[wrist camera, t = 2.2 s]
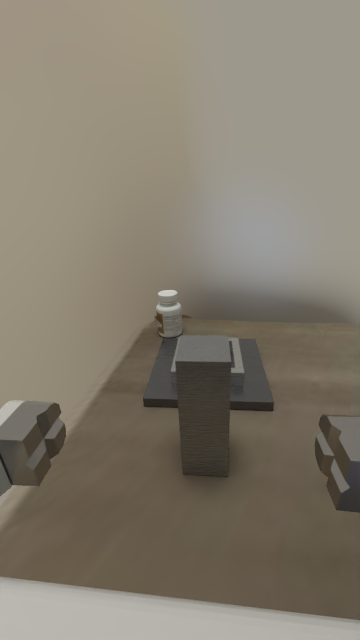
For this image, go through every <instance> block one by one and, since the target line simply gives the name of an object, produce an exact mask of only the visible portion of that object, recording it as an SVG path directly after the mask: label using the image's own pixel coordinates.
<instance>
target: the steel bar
mask: <svg viewBox="0 0 360 640" xmlns="http://www.w3.org/2000/svg"><path fill="white" fill-rule="evenodd" d="M175 366H176V381H177V396H178V411H179V425H180V440H181V455H182V469H183V474H187V475H203V476H218V477H228V454H229V421H230V388H231V355H230V346H229V338H228V336H183V335H181V337H180V341H179V346H178V350H177V355H176V360H175Z"/></svg>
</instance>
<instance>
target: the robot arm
mask: <svg viewBox="0 0 360 640" xmlns="http://www.w3.org/2000/svg"><path fill="white" fill-rule="evenodd" d="M60 414H61V410H60V407H59V404H56V403H51V402H50V403H49V402H37V401H18V400H12V401H10V402H7V403H6V404H5V405H4V406H3V407H2V408H1V409H0V496H1V495H2V494H3V493H5V492H6V491H7V490H8V489H10V488H11V487H12V485H23V486H39V485H40V484H41V482H42V480H43V479H44V477H45V475H46V474H47V472H48V470H49V469H50V467H51V462H50V459H52V458H53V457H54V456H56V455H57V454H59V452H60V450H61V448H62V447H63V444H64V441H65V437H66V428H65V424H64V422H63V421H61V420H60V419H59V418H58V417H59V415H60ZM319 426H320V429H321V431H322V432H321V433H320V434H319V435H317V436H316V441H315V455H316V459H317V463H318V466H319V468H320V471H321V472H322V473H323V474H325V475H326V476H327V477H328V481H327V485H326V486H327V489H328V491H329V494H330V496H331V499H332V501H333V503H334V506H335V508H336V510H339V511H349V512H358V513H360V416H350V415H322V416H321V418H320V422H319ZM0 640H360V620H353V619H345V618H337V617H329V616H321V615H312V614H304V613H296V612H288V611H280V610H271V609H263V608H255V607H247V606H239V605H230V604H222V603H214V602H206V601H197V600H189V599H181V598H173V597H165V596H156V595H148V594H140V593H132V592H124V591H115V590H107V589H99V588H91V587H82V586H74V585H66V584H58V583H49V582H41V581H33V580H25V579H16V578H8V577H0Z"/></svg>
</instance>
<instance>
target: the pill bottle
mask: <svg viewBox="0 0 360 640" xmlns="http://www.w3.org/2000/svg"><path fill="white" fill-rule="evenodd" d="M177 301H178V293H177V292H176V291H174V290H164V291H161V292H159V293H158V302H159V304H158V305H157V307H156V312H157V322H158V332H159V334H160V335H161V336H162V337H166V338H172V337H176V336H179V335H180V334H181V333H182V317H181V305H180V304H179V303H178V302H177Z"/></svg>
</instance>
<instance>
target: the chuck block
mask: <svg viewBox="0 0 360 640" xmlns="http://www.w3.org/2000/svg"><path fill="white" fill-rule="evenodd" d="M179 341H180V337H179V338H178V339H164V338H163V341H162V344H161V347H160V350H159V353H158V356H157V359H156V362H155V365H154V368H153V371H152V374H151V376H150V379H149V382H148V385H147V388H146V391H145V394H144V397H143V401H144V406H149V407H178V396H177V381H176V366H175V360H176V355H177V350H178V346H179ZM229 346H230V355H231V388H230V409H236V410H265V411H273V405H274V401H273V398H272V395H271V391H270V388H269V385H268V381H267V378H266V375H265V371H264V368H263V364H262V361H261V358H260V354H259V351H258V348H257V344H256V341H255V339H238V338H229Z"/></svg>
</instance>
